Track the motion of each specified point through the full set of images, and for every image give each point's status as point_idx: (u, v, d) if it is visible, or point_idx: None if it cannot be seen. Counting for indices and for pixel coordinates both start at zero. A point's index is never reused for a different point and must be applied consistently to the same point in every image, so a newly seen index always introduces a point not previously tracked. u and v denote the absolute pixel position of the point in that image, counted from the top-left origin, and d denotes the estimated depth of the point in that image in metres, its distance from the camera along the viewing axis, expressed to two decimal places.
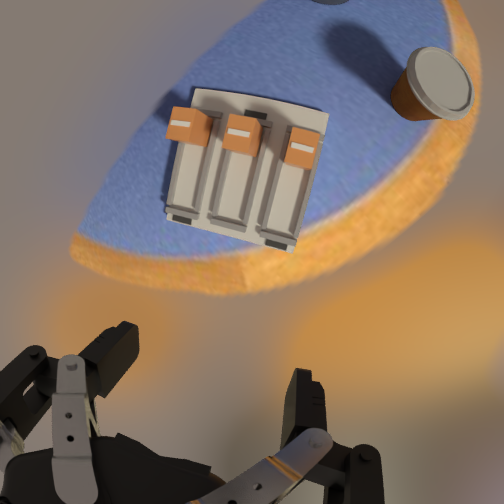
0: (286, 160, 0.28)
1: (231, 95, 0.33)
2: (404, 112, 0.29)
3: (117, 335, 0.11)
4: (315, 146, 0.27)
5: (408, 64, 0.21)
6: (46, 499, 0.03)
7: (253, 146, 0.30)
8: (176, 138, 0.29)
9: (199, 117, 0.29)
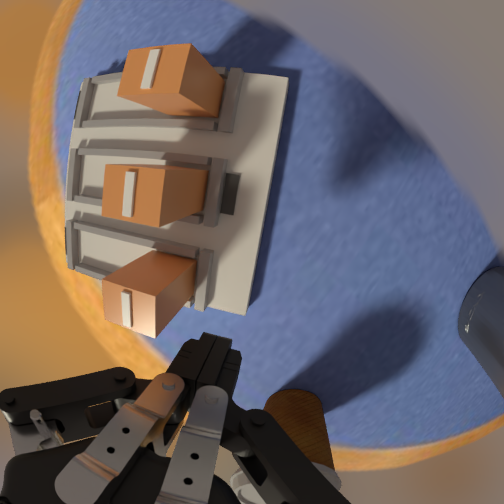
0: (104, 282, 0.15)
1: (270, 145, 0.18)
2: (266, 410, 0.24)
3: (204, 348, 0.12)
4: (134, 329, 0.16)
5: None
6: (46, 499, 0.03)
7: None
8: (125, 71, 0.12)
9: (178, 100, 0.13)
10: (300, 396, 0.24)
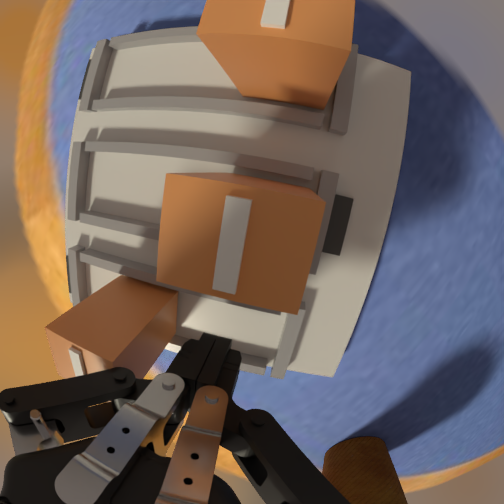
0: (48, 332, 0.09)
1: (393, 160, 0.12)
2: (333, 463, 0.18)
3: (204, 348, 0.12)
4: None
5: None
6: (46, 499, 0.03)
7: None
8: None
9: (315, 66, 0.07)
10: (370, 444, 0.18)
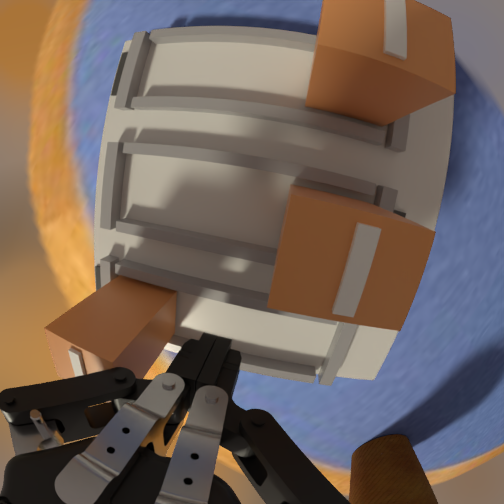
0: (47, 333, 0.09)
1: (439, 177, 0.12)
2: (363, 462, 0.18)
3: (204, 348, 0.12)
4: None
5: None
6: (46, 499, 0.03)
7: None
8: (329, 4, 0.05)
9: (409, 96, 0.06)
10: (397, 442, 0.18)
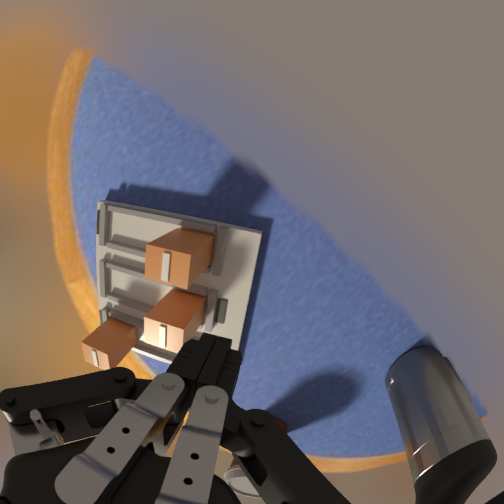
0: (82, 344, 0.26)
1: (247, 283, 0.29)
2: None
3: (204, 348, 0.12)
4: (100, 367, 0.27)
5: None
6: (46, 499, 0.03)
7: None
8: (146, 260, 0.22)
9: None
10: None
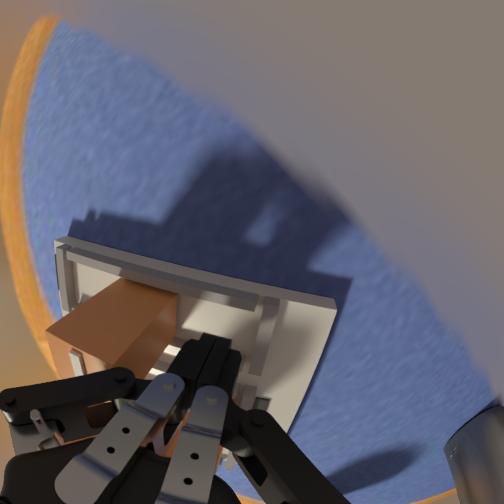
0: None
1: (304, 379, 0.16)
2: None
3: (204, 348, 0.12)
4: None
5: None
6: (46, 499, 0.03)
7: None
8: (54, 355, 0.10)
9: None
10: None
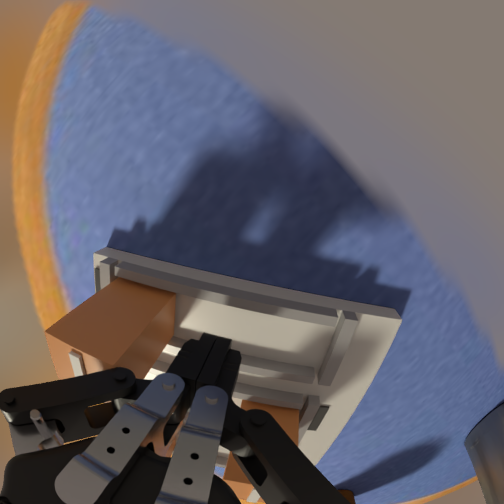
0: None
1: (363, 385, 0.16)
2: None
3: (204, 348, 0.12)
4: None
5: None
6: (46, 499, 0.03)
7: None
8: (53, 356, 0.10)
9: None
10: None
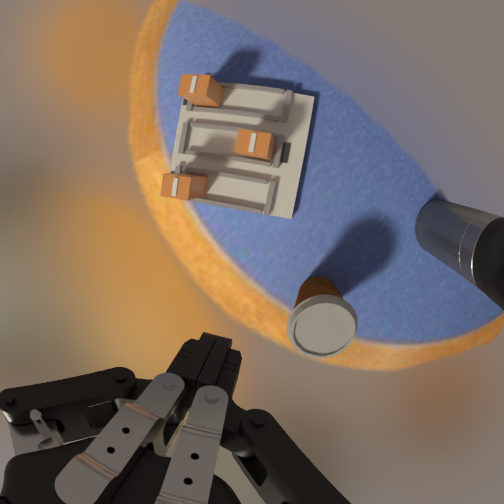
0: (164, 175, 0.34)
1: (305, 130, 0.36)
2: (301, 288, 0.42)
3: (204, 348, 0.12)
4: (177, 197, 0.34)
5: (333, 297, 0.33)
6: (46, 499, 0.03)
7: (246, 154, 0.34)
8: (181, 83, 0.30)
9: (204, 98, 0.32)
10: (322, 278, 0.43)
